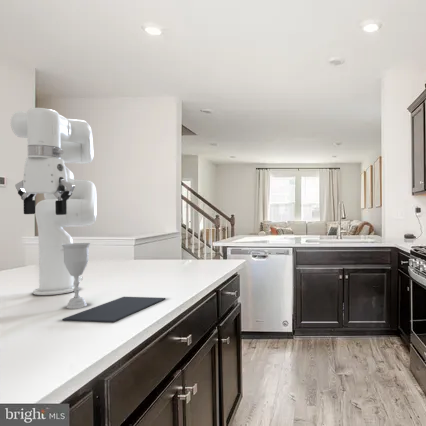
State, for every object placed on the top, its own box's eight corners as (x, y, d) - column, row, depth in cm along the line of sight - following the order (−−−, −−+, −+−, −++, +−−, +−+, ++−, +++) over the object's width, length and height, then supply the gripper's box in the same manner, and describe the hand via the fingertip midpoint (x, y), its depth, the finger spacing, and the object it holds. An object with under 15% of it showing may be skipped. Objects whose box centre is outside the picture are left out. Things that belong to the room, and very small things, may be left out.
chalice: (79, 309, 104) (79, 245, 103) (55, 309, 104) (55, 245, 104) (96, 303, 111) (95, 242, 111) (73, 303, 111) (73, 242, 111)
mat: (123, 298, 117) (123, 296, 117) (165, 299, 116) (165, 297, 116) (62, 320, 94) (62, 318, 94) (113, 322, 92) (113, 320, 92)
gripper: (82, 155, 107) (83, 214, 108) (28, 155, 109) (29, 213, 110) (62, 152, 100) (63, 215, 101) (4, 152, 102) (5, 214, 102)
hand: (45, 214), depth 105 cm, fingers open, 9 cm apart
